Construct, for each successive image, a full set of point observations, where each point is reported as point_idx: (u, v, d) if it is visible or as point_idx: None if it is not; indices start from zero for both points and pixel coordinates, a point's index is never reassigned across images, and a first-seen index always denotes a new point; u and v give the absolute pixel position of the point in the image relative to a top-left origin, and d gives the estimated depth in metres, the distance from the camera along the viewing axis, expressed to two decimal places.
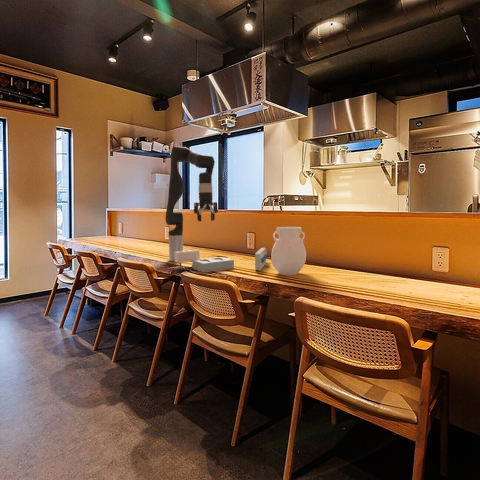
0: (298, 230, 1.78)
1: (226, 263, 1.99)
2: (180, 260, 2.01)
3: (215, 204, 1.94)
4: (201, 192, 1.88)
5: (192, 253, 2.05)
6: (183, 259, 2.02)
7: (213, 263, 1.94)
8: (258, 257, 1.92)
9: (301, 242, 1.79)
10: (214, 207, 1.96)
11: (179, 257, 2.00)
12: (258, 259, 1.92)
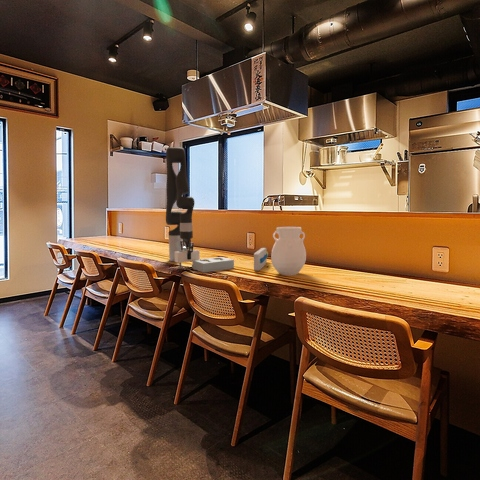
0: (298, 230, 1.78)
1: (226, 263, 1.99)
2: (180, 260, 2.01)
3: None
4: (190, 231, 2.02)
5: (192, 253, 2.05)
6: (183, 259, 2.02)
7: (213, 263, 1.94)
8: (257, 257, 1.92)
9: (301, 242, 1.79)
10: None
11: (179, 257, 2.00)
12: (257, 259, 1.92)
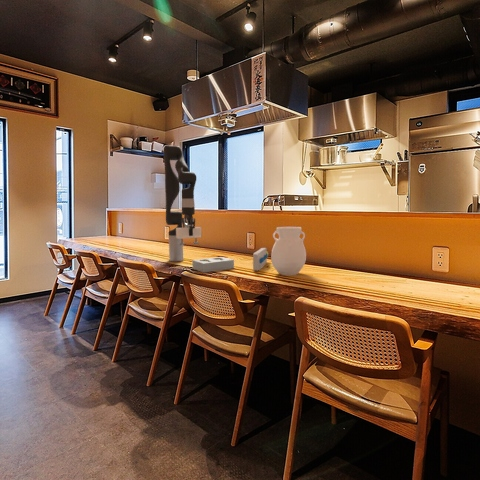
0: (298, 230, 1.78)
1: (226, 263, 1.99)
2: (182, 236, 1.99)
3: None
4: (192, 207, 2.00)
5: (194, 230, 2.03)
6: (185, 235, 2.00)
7: (213, 263, 1.94)
8: (256, 257, 1.92)
9: (301, 242, 1.79)
10: None
11: (181, 233, 1.98)
12: (256, 259, 1.92)
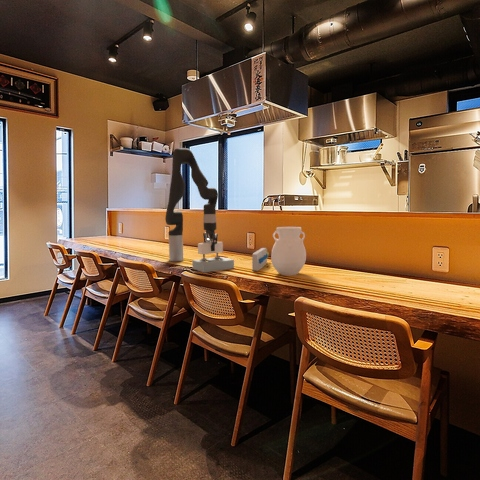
0: (298, 230, 1.78)
1: (226, 263, 1.99)
2: (204, 252, 1.98)
3: None
4: (214, 222, 1.99)
5: (216, 245, 2.02)
6: (207, 250, 1.99)
7: (213, 263, 1.94)
8: (255, 257, 1.92)
9: (301, 242, 1.79)
10: (206, 237, 2.07)
11: (203, 249, 1.98)
12: (255, 259, 1.92)
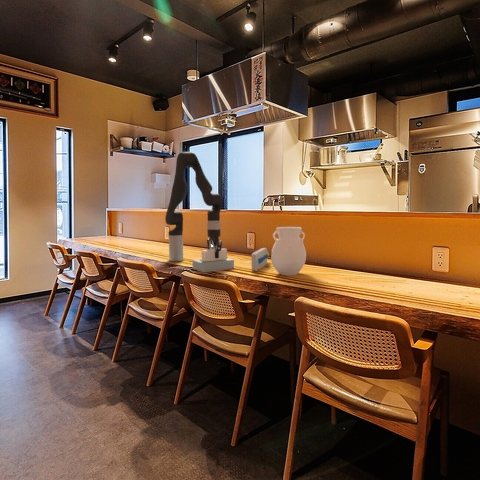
0: (298, 230, 1.78)
1: (226, 263, 1.99)
2: (208, 259, 1.95)
3: None
4: (218, 229, 1.96)
5: (220, 252, 1.99)
6: (211, 257, 1.96)
7: (213, 263, 1.94)
8: (254, 257, 1.92)
9: (301, 242, 1.79)
10: (210, 243, 2.04)
11: (207, 256, 1.95)
12: (254, 259, 1.92)
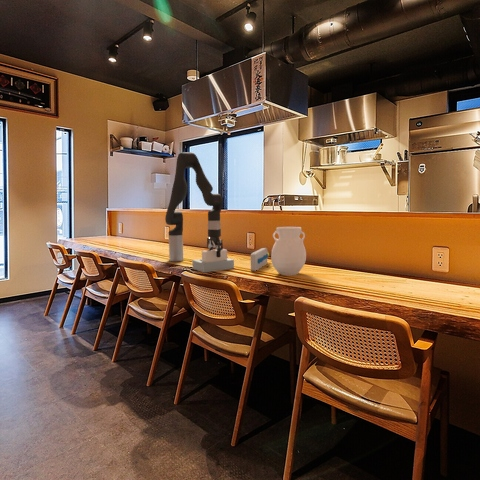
0: (298, 230, 1.78)
1: (226, 263, 1.99)
2: (208, 260, 1.95)
3: None
4: (219, 229, 1.96)
5: (220, 253, 1.99)
6: (211, 258, 1.96)
7: (213, 263, 1.94)
8: (253, 257, 1.91)
9: (301, 242, 1.79)
10: (209, 242, 2.04)
11: (207, 256, 1.94)
12: (253, 259, 1.92)
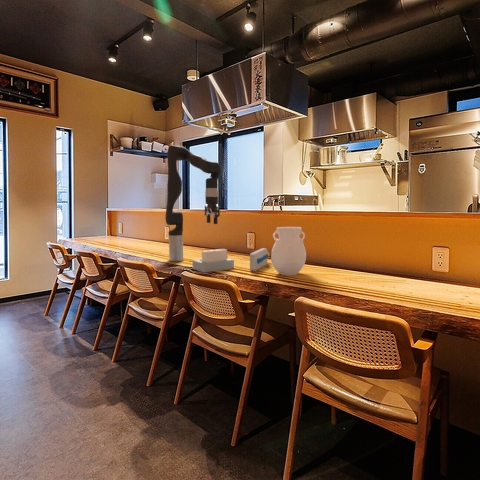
0: (298, 230, 1.78)
1: (226, 263, 1.99)
2: (208, 260, 1.95)
3: None
4: (216, 196, 2.01)
5: (220, 253, 1.99)
6: (211, 258, 1.96)
7: (213, 263, 1.94)
8: (253, 257, 1.91)
9: (301, 242, 1.79)
10: (207, 210, 2.09)
11: (207, 256, 1.94)
12: (253, 259, 1.91)
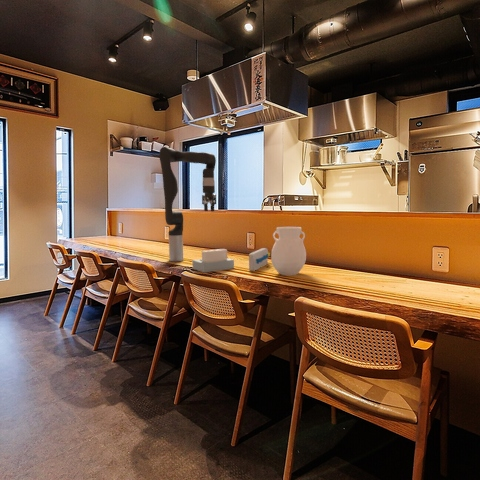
0: (298, 230, 1.78)
1: (226, 263, 1.99)
2: (208, 260, 1.95)
3: None
4: (213, 185, 2.14)
5: (220, 253, 1.99)
6: (211, 258, 1.96)
7: (213, 263, 1.94)
8: (252, 257, 1.91)
9: (301, 242, 1.79)
10: None
11: (207, 256, 1.94)
12: (252, 259, 1.91)
